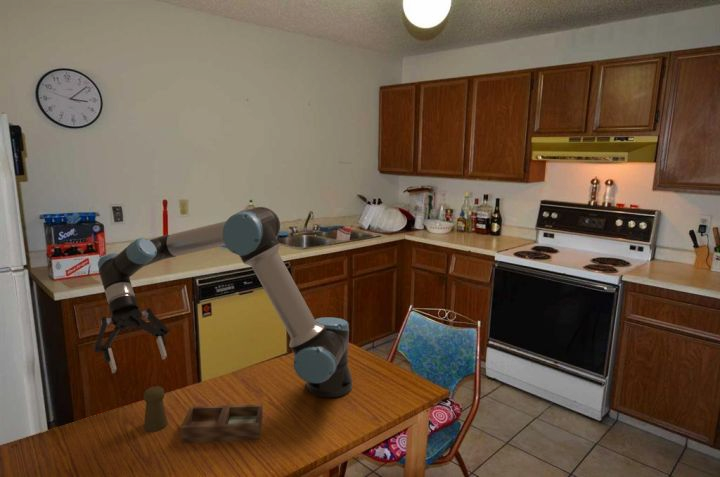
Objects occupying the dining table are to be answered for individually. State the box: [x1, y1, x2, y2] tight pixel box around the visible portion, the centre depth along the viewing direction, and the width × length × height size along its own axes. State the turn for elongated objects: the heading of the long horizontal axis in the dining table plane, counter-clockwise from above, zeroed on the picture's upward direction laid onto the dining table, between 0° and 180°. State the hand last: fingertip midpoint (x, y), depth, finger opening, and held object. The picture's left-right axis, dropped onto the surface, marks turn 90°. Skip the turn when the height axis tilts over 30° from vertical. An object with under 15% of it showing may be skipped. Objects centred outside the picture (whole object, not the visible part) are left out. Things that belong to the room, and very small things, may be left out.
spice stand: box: [179, 403, 264, 444], centre depth 124 cm, size 20×10×4 cm, turn 96°
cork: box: [143, 385, 168, 433], centre depth 125 cm, size 6×6×11 cm
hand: (140, 364), depth 130 cm, fingers open, 13 cm apart
